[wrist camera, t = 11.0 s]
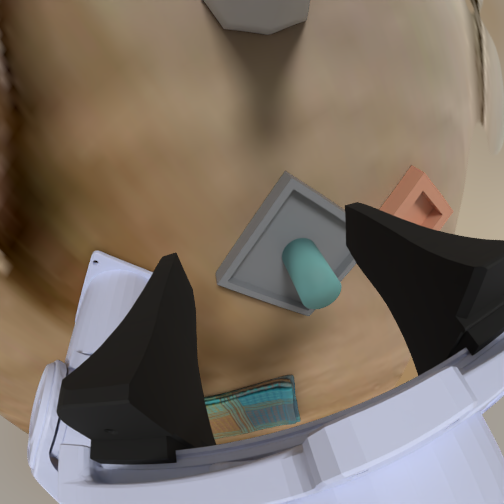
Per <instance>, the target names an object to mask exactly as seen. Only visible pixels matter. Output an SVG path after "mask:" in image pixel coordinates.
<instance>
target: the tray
mask: <svg viewBox="0 0 504 504" xmlns="http://www.w3.org/2000/svg"><path fill="white" fill-rule="evenodd" d="M298 238H307V239H310V240H312V241H313V242H314V244H315V245H316V246H317V248H318V249H319V251H320V252H321V254H322V255H323V257H324V258H325V260H326V261H327V263H328V264H329V266H330V267H331V269H332V271H333V272H334V274H335V275H336V277H337V278H338V280H339V281H340V282H341V281H342V279H343V278H344V277H345V276H346V275H347V274H348V273H349V271H350V270H351V269H352V268H353V267H354V266H355V264H356V262H355V260H354V258H353V257H352V255H351V253H350V251H349V249H348V248H347V246H346V221H345V210H344V209H342V208H341V207H339V206H338V205H337V204H335V203H334V202H332V201H331V200H329V199H328V198H326V197H325V196H323V195H322V194H320V193H319V192H317V191H316V190H314V189H313V188H311V187H310V186H308V185H307V184H305V183H304V182H302V181H300V180H299V179H297V178H296V177H294V176H293V175H291V174H289V173H288V172H286V171H285V172H284V173H283V175H282V176H281V178H280V179H279V181H278V182H277V183H276V185H275V186H274V188H273V189H272V191H271V192H270V194H269V195H268V196H267V198H266V199H265V201H264V202H263V204H262V205H261V207H260V208H259V210H258V211H257V212H256V214H255V215H254V217H253V218H252V220H251V221H250V223H249V224H248V226H247V227H246V229H245V230H244V231H243V233H242V234H241V236H240V237H239V239H238V240H237V242H236V243H235V245H234V246H233V248H232V249H231V251H230V252H229V254H228V255H227V257H226V258H225V260H224V261H223V263H222V264H221V266H220V267H219V269H218V270H217V272H216V279H217V285H220V286H222V287H225V288H228V289H231V290H233V291H236V292H239V293H242V294H245V295H248V296H250V297H253V298H256V299H259V300H262V301H265V302H268V303H271V304H273V305H276V306H279V307H282V308H285V309H288V310H291V311H294V312H297V313H300V314H303V315H306V316H310V315H311V314H312V313H313V312H314V310H315V309H309V308H307V307H305V306H304V305H303V303H302V301H301V299H300V297H299V294H298V292H297V290H296V288H295V286H294V284H293V282H292V280H291V277H290V275H289V273H288V271H287V269H286V267H285V265H284V263H283V260H282V253H283V250H284V248H285V247H286V246H287V245H288V244H289V243H290V242H291V241H293V240H295V239H298Z"/></svg>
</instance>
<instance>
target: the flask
mask: <svg viewBox="0 0 504 504" xmlns="http://www.w3.org/2000/svg"><path fill="white" fill-rule="evenodd" d="M204 2H205V3H206V5H207V6H208V7H209V9H210V10H211V12H212V13H213V14H214V16H215V17H216V19H217V20H218V22H219V23H220V24H221V26H222V27H223V29H229V30H238V31H246V32H253V33H260V34H266V35H270V34H273V33H275V32H277V31H280V30H282V29H285V28H287V27H290V26H293V25H295V24H298V23H301V22H303V21H306V20H307V16H308V10H309V3H310V0H204Z"/></svg>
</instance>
